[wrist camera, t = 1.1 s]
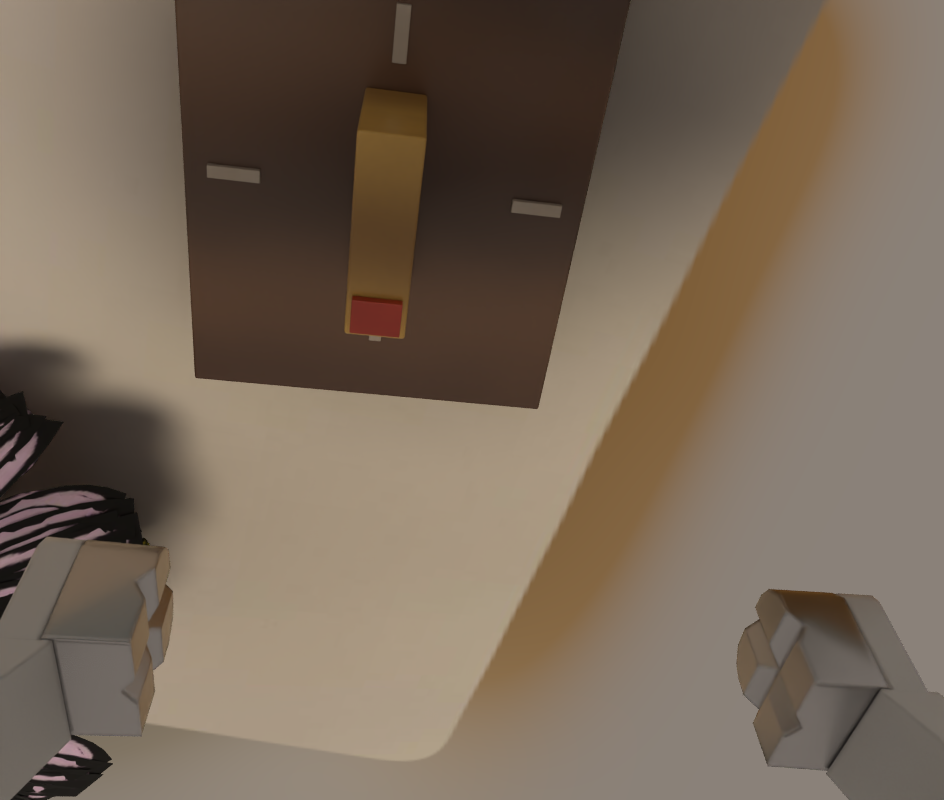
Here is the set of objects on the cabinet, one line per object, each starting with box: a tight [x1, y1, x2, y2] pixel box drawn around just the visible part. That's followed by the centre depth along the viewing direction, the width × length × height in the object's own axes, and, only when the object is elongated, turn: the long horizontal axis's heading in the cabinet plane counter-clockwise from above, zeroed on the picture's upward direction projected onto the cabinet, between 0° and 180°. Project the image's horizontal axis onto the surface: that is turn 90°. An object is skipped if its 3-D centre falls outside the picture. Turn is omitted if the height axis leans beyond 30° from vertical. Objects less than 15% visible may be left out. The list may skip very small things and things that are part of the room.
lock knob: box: [344, 88, 427, 339], centre depth 23 cm, size 6×2×3 cm, turn 172°
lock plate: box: [175, 0, 631, 409], centre depth 26 cm, size 14×11×3 cm
